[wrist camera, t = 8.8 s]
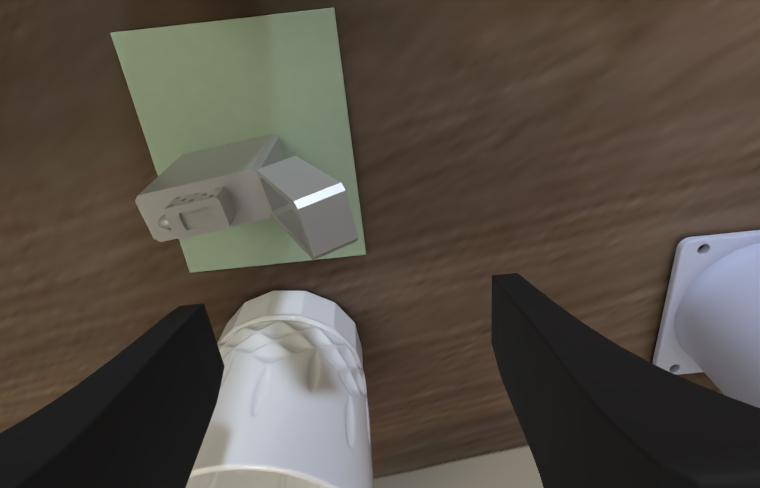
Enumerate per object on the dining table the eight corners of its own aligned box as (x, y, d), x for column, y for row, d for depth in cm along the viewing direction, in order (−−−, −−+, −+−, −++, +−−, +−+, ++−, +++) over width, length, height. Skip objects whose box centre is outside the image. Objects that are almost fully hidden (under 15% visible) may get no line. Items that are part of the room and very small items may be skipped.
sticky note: (334, 7, 17) (333, 7, 17) (366, 252, 22) (366, 254, 22) (112, 32, 17) (109, 33, 17) (191, 270, 22) (189, 272, 22)
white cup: (403, 354, 25) (426, 558, 16) (287, 423, 27) (250, 638, 18) (300, 246, 22) (257, 425, 13) (178, 334, 24) (68, 540, 15)
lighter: (194, 195, 20) (103, 307, 13) (177, 155, 19) (70, 252, 12) (361, 157, 20) (359, 253, 12) (350, 115, 19) (343, 192, 12)
